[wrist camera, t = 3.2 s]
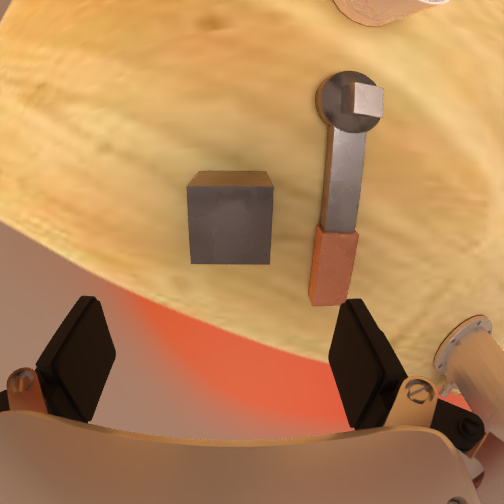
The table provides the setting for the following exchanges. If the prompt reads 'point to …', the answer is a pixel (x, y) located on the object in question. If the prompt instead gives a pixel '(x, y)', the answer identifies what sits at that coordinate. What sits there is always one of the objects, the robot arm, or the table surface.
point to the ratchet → (341, 180)
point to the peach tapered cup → (383, 9)
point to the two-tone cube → (230, 217)
